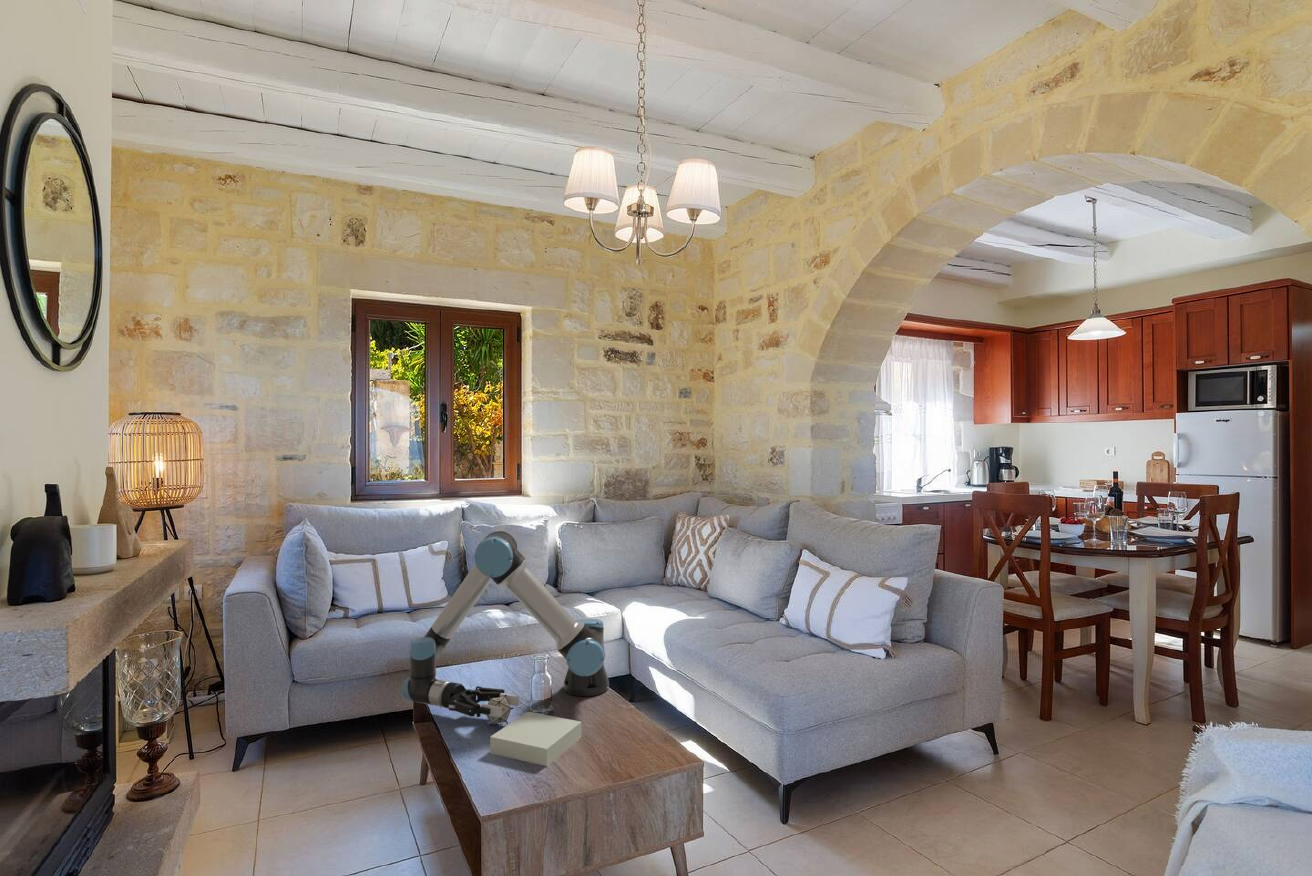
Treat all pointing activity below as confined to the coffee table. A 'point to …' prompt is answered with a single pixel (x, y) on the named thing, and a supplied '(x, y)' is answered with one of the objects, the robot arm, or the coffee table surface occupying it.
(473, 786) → the coffee table surface
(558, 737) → the base block
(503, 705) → the game die
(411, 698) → the robot arm
